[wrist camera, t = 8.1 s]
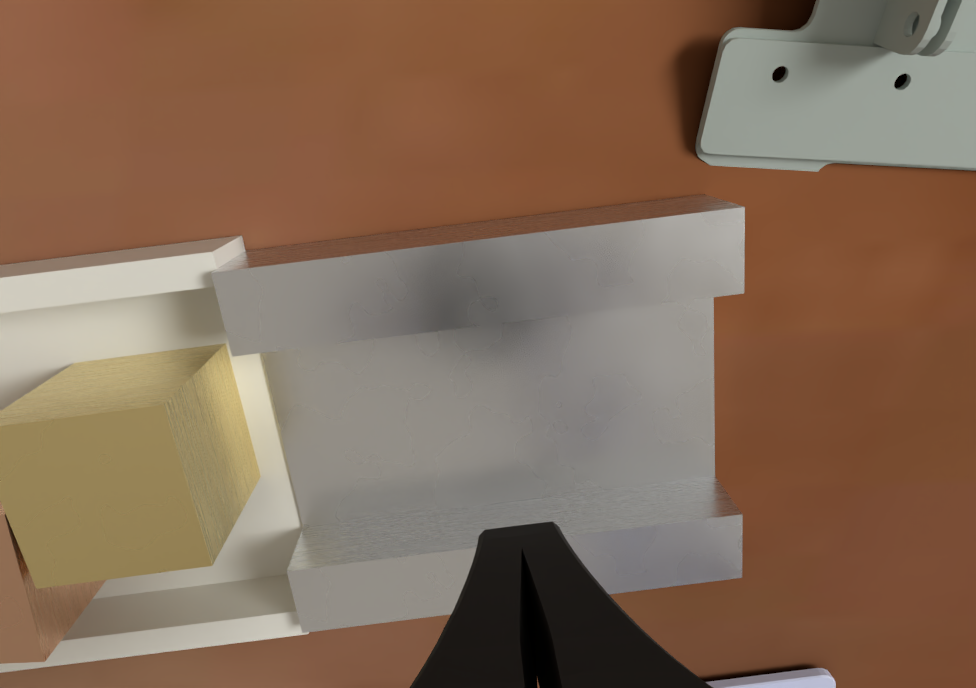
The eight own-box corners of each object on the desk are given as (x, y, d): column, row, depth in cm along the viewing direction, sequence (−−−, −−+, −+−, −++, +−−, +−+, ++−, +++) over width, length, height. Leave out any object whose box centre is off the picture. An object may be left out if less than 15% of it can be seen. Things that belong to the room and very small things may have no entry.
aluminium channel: (708, 522, 21) (742, 577, 18) (320, 571, 21) (302, 632, 18) (704, 194, 18) (744, 207, 15) (245, 250, 18) (210, 273, 15)
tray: (323, 582, 21) (308, 633, 19) (-10, 623, 21) (-62, 680, 19) (241, 235, 17) (212, 251, 15) (-158, 284, 17) (-242, 307, 15)
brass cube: (261, 476, 19) (212, 565, 15) (119, 494, 19) (36, 588, 15) (225, 343, 18) (163, 404, 14) (74, 363, 18) (-29, 430, 14)
